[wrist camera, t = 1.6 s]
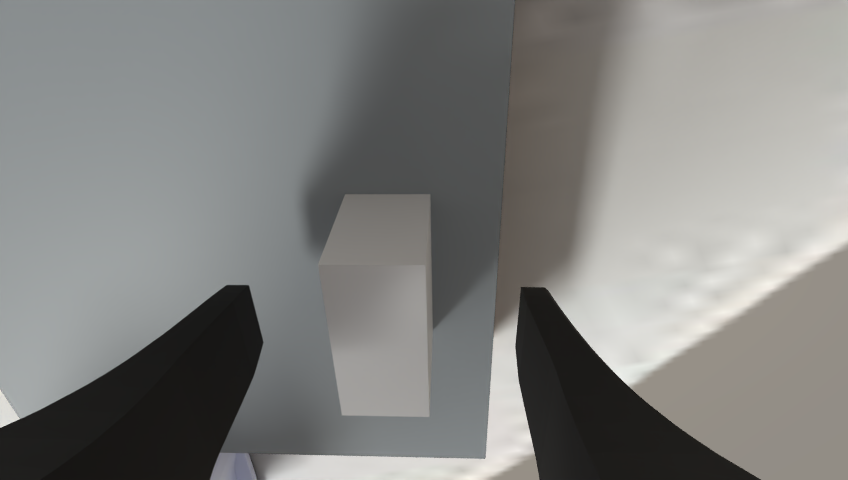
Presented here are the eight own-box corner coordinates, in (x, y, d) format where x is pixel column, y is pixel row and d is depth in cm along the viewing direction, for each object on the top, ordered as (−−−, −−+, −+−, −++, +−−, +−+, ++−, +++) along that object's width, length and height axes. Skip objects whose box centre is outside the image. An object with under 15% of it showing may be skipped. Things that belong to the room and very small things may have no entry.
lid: (484, 439, 21) (491, 550, 17) (53, 430, 22) (-29, 534, 18) (516, -94, 11) (549, -103, 8) (-255, -72, 12) (-566, -72, 8)
